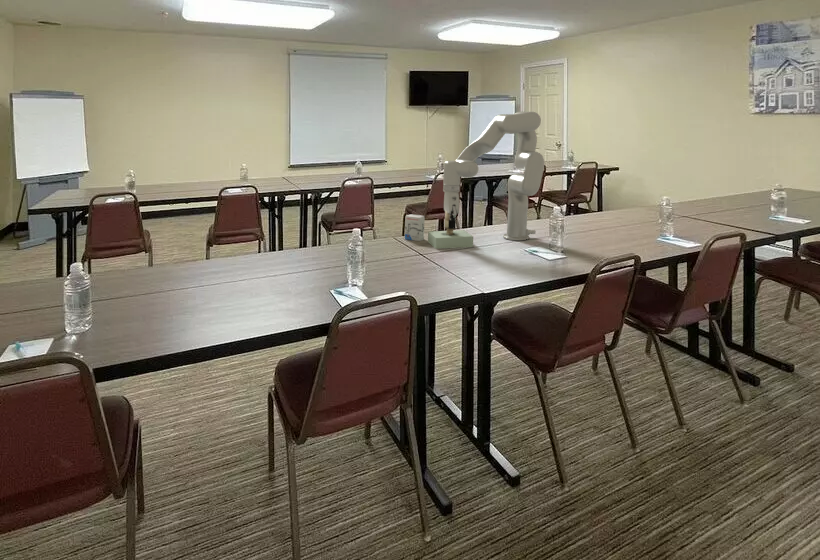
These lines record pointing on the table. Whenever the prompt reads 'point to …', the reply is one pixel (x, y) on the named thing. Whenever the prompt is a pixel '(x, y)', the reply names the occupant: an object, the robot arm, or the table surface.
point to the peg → (448, 231)
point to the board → (450, 239)
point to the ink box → (414, 227)
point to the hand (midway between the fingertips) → (450, 227)
